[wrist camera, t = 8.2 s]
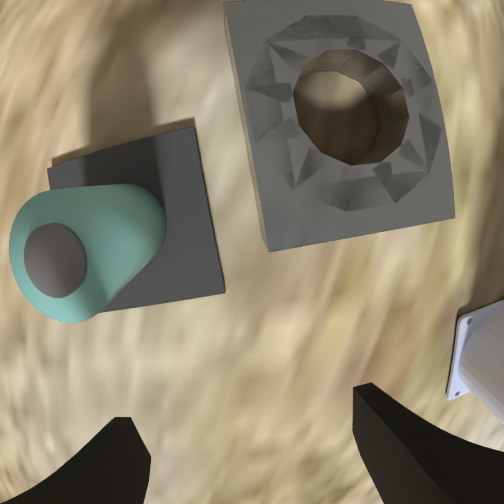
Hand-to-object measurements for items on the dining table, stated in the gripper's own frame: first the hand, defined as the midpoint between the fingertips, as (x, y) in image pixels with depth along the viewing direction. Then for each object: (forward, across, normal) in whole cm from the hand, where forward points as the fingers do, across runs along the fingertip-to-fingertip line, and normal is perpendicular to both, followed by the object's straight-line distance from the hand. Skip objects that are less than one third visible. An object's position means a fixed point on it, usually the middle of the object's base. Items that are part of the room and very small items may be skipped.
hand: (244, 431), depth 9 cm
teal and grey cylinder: (+9, +5, -6) cm, 12 cm away
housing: (+10, -7, -10) cm, 16 cm away
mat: (+10, +5, -6) cm, 12 cm away
